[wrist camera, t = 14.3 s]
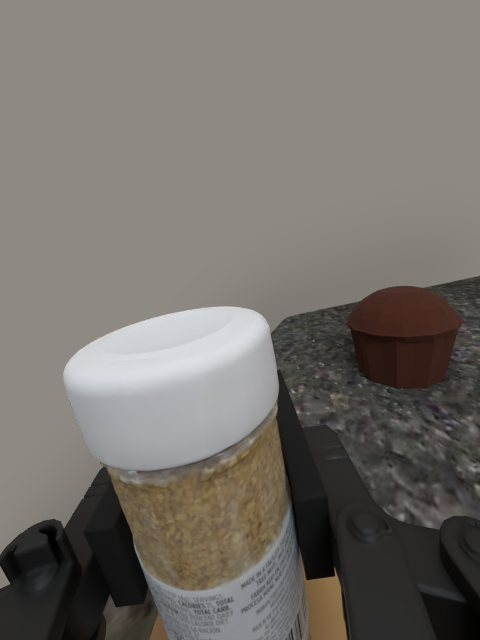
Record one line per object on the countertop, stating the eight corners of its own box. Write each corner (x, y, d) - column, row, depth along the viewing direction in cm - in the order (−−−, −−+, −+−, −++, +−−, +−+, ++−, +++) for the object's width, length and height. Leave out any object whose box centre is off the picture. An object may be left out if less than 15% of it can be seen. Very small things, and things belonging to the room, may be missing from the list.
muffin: (374, 344, 40) (373, 279, 37) (469, 361, 31) (476, 278, 29) (331, 377, 33) (325, 300, 30) (438, 410, 24) (443, 306, 22)
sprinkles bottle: (255, 568, 13) (198, 299, 9) (346, 668, 9) (311, 305, 6) (171, 675, 10) (42, 345, 6) (258, 875, 7) (85, 411, 3)
